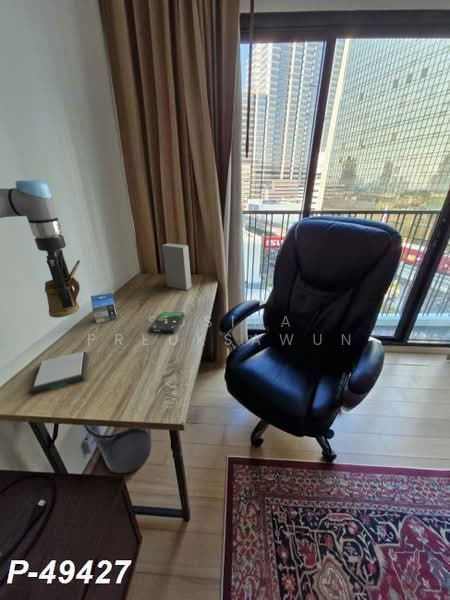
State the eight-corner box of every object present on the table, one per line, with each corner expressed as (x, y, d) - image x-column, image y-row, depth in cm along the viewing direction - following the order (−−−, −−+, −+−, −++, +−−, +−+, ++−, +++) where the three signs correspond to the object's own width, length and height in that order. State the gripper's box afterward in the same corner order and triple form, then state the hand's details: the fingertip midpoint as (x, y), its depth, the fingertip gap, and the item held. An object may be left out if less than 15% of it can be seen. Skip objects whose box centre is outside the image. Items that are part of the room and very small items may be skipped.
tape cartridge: (96, 324, 112) (89, 299, 107) (96, 320, 115) (89, 296, 110) (117, 320, 115) (111, 296, 110) (117, 316, 118) (111, 292, 113)
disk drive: (174, 335, 104) (184, 317, 117) (174, 329, 102) (183, 311, 115) (150, 334, 105) (163, 315, 118) (149, 328, 104) (162, 310, 117)
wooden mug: (89, 314, 86) (76, 264, 78) (45, 319, 83) (26, 267, 75) (95, 302, 94) (83, 256, 86) (54, 306, 91) (38, 258, 83)
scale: (33, 396, 76) (29, 389, 74) (42, 367, 87) (39, 360, 86) (84, 382, 81) (82, 375, 79) (87, 356, 92) (85, 350, 91)
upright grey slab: (192, 287, 148) (189, 245, 137) (186, 291, 143) (183, 247, 132) (173, 283, 153) (168, 242, 142) (167, 287, 148) (161, 245, 137)
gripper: (58, 241, 70) (79, 312, 81) (66, 229, 87) (83, 289, 97) (26, 244, 68) (52, 317, 78) (40, 231, 84) (61, 293, 94)
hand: (69, 302), depth 87 cm, fingers closed on wooden mug, 7 cm apart
